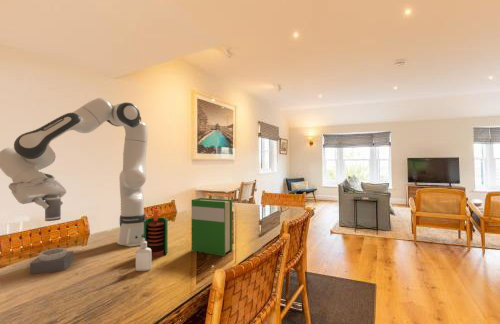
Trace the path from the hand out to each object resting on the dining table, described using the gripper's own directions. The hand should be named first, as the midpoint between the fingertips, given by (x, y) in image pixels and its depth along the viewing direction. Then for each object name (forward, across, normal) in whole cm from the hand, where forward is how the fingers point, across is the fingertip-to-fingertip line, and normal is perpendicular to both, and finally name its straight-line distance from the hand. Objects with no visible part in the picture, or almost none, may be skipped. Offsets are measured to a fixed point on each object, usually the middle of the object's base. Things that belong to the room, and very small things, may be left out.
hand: (54, 206), depth 106 cm
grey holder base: (+17, 0, +18) cm, 24 cm away
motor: (+42, +16, -7) cm, 45 cm away
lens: (+3, 0, +4) cm, 5 cm away
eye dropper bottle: (+43, -1, -9) cm, 44 cm away
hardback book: (+59, +21, -25) cm, 68 cm away
